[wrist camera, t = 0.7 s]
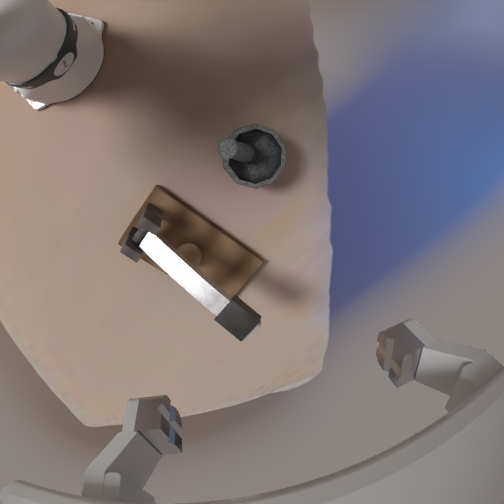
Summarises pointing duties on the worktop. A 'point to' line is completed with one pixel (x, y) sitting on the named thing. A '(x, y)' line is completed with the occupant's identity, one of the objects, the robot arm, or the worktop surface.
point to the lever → (203, 288)
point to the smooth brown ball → (191, 252)
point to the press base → (190, 240)
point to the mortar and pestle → (253, 155)
